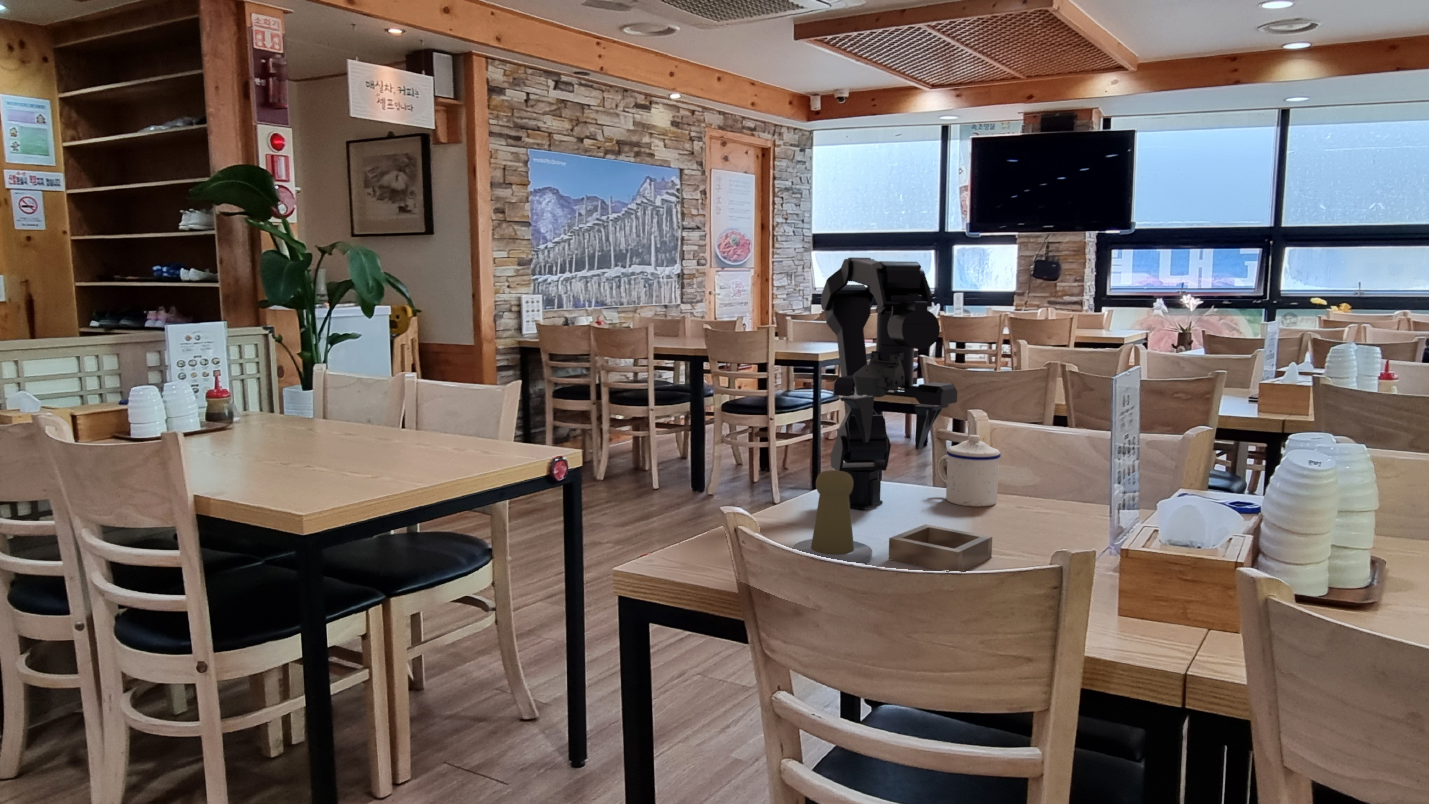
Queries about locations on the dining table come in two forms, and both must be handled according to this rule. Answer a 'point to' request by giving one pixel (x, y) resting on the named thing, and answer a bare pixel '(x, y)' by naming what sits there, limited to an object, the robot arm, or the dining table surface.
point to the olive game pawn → (833, 514)
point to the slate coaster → (859, 554)
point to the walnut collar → (940, 548)
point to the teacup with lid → (971, 473)
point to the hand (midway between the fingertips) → (891, 445)
